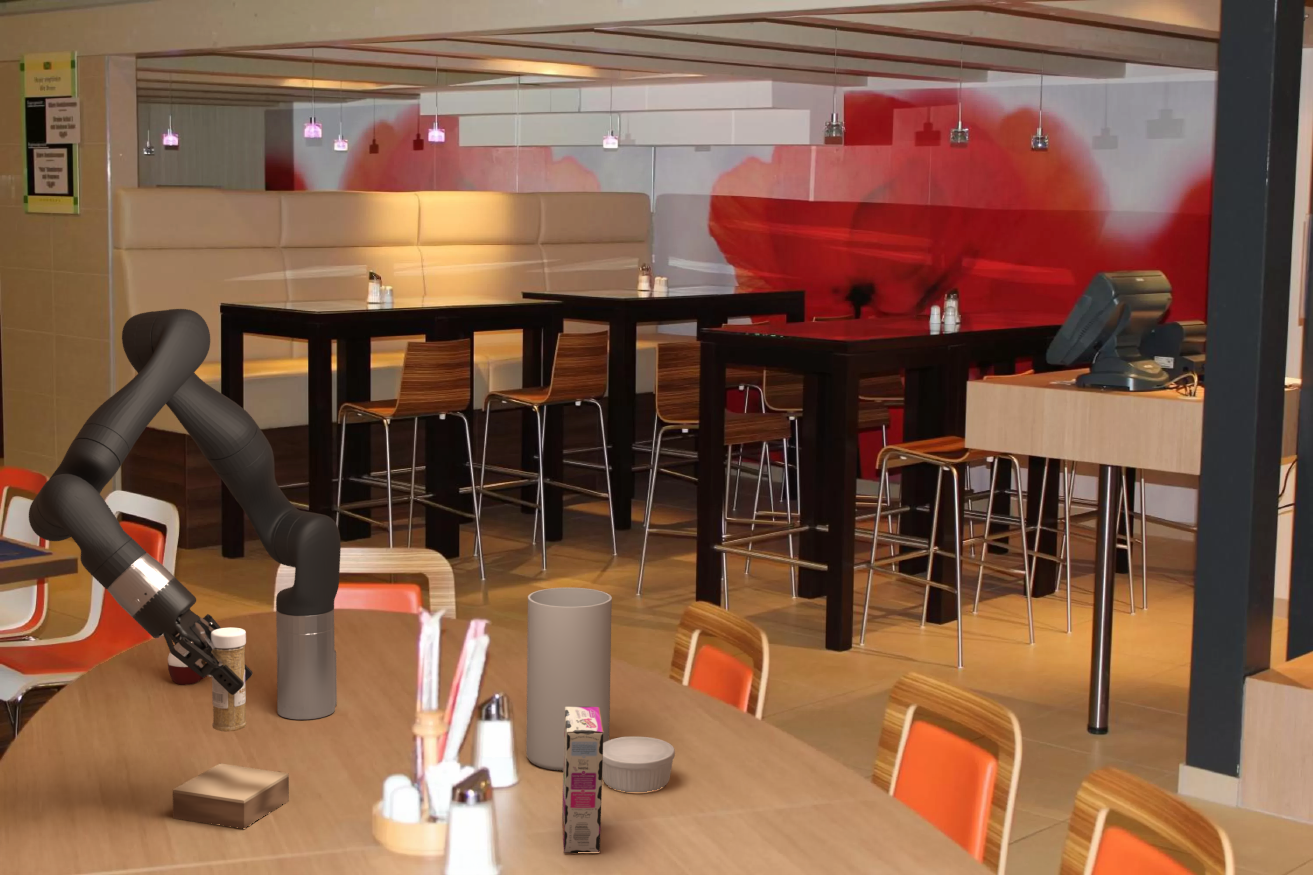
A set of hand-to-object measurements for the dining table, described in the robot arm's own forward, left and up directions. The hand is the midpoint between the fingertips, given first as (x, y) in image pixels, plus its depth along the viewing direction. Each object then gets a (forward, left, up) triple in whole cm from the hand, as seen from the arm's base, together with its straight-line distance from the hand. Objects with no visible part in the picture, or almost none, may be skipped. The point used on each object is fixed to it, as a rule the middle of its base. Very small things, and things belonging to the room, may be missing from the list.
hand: (243, 683), depth 209 cm
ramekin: (-29, +46, -18) cm, 58 cm away
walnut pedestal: (+1, -2, -18) cm, 18 cm away
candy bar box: (-7, +46, -18) cm, 50 cm away
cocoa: (-47, -43, -18) cm, 66 cm away
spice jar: (+1, -2, -6) cm, 7 cm away
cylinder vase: (-35, +33, -18) cm, 52 cm away
